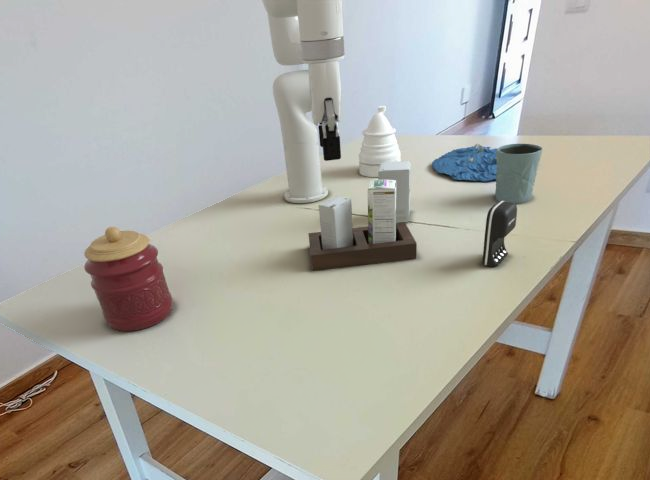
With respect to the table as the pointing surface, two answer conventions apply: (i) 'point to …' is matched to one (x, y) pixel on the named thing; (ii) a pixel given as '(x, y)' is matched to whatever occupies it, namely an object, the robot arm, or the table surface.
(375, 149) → the honey pot
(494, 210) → the battery charger
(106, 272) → the kitchen canister
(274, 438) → the table surface
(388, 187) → the syrup box
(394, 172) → the white packaging box
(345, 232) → the cosmetic box
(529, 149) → the green cup
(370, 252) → the rack
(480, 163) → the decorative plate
